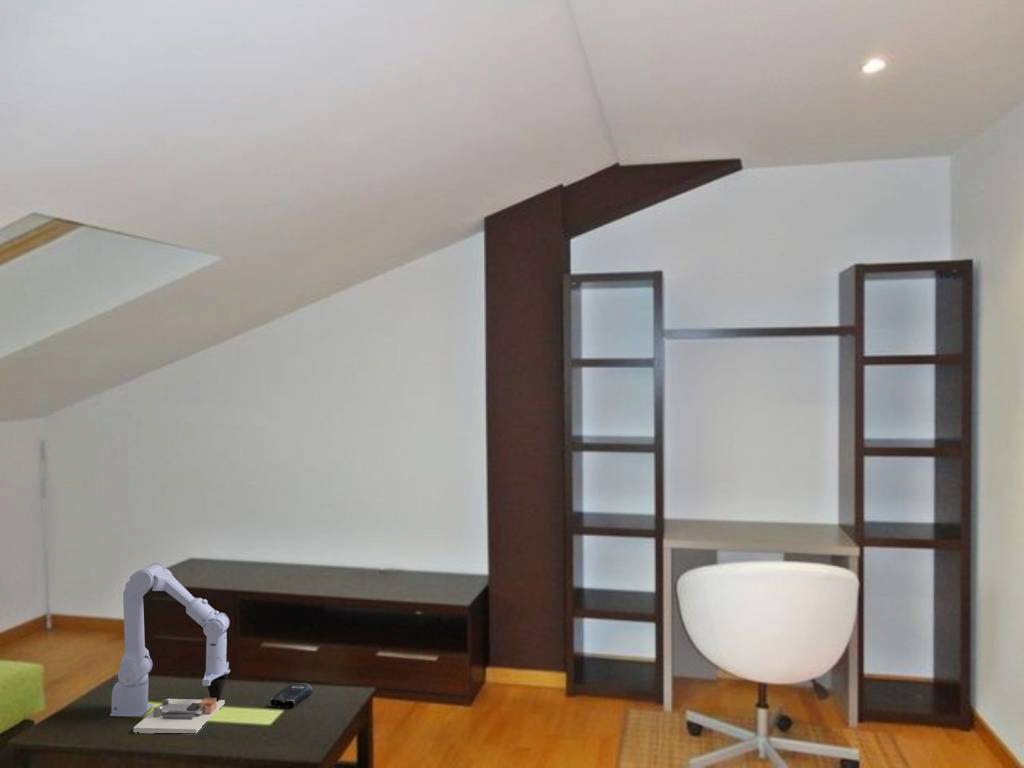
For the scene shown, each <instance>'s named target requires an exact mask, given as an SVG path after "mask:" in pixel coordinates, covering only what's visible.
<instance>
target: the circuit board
mask: <svg viewBox="0 0 1024 768" xmlns="http://www.w3.org/2000/svg"><path fill="white" fill-rule="evenodd" d="M202 700H203V699H194V698H193V699H191V698H190V699H189V698H187V699H186V698H183V699H182V698H180V699H179V698H167V699H162V701H161V704H163V703H166V704H183V705H191V704H192V703H200V702H201V701H202ZM225 701H226V700H225V699H220V700H219V701H218V702H216V709H215V710H214V711H213V712H212V713H205V711H204V712H203V713H202V714H190V713H168V712H160V707H159V706H160V705H161V704H160V705H158V706H153V708H152V709H153V711H151V712H150V713H149V714H147V715H146V716H145V717H144V718H143V719H142V720H141V721H139V723H137V724H135V726H133V731H132V733H133V732H135V733H134V734H154V733H197V732H198V731H199V730H200V729H201V728H202V726H203V725H204V724H205V723H206V722H207V721H208V720H209V719H210V718H211V717H212V716H213V715H214V714H215V713H216V711H218V710H219V709H220V708H221V707H222V706H223V705H224V704H226V703H225ZM224 706H225V705H224ZM224 706H223V707H224ZM223 707H222V708H223ZM222 708H221V709H222ZM221 709H220V710H221ZM220 710H219V711H220ZM219 711H218V712H219ZM216 714H217V713H216ZM202 729H203V728H202ZM202 729H201V730H202ZM201 730H200V731H201ZM200 731H199V732H200ZM137 732H139V733H137ZM199 732H198V733H199ZM198 733H197V734H198Z"/></svg>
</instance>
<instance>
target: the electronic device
mask: <svg viewBox="0 0 1024 768" xmlns="http://www.w3.org/2000/svg"><path fill="white" fill-rule="evenodd" d="M313 691H314V689H313V687H312V686H311V685H310V684H309V683H305V682H301V683H299V682H297V683H292V684H289V685H287V686H285V687H284V688H283V689H281V690H280V691H279V692H278V693H277V694H275V695H274V697H271V698H268V700H267V703H268V705H269V707H270V706H272V707H274V706H273V705H275V703H276V702H277V704H278V703H279V702H280V703H282V706H280V707H279V708H282V707H283V708H284V707H285V708H286V707H287V706H288V705H289V704H287V705H286V703H285V702H289V703H290V702H292V704H293V705H292V706H293V708H294V707H295V706H297V704H299V703H300V702H301V701H303V699H306V698H308V697H309V696H311V695H312V693H313ZM285 705H286V706H285ZM275 706H276V705H275ZM287 708H288V707H287Z"/></svg>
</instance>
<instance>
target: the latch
mask: <svg viewBox="0 0 1024 768" xmlns="http://www.w3.org/2000/svg"><path fill="white" fill-rule="evenodd" d="M201 700H202V701H201V702H200V703H199V706H205V713H212V712H213V711H214V710H215V709H216V701H217V698H210V697H209V696H208V697H204V698H203V699H201Z"/></svg>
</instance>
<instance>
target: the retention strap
mask: <svg viewBox="0 0 1024 768" xmlns="http://www.w3.org/2000/svg"><path fill="white" fill-rule="evenodd" d="M158 706H159V705H158ZM159 707H160V712H168V713H190V714H202V713H203V712H204V711H205V706H199V703H192V704H191V705H183V704H166V703H163V704H162V703H161V704H160V706H159Z"/></svg>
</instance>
